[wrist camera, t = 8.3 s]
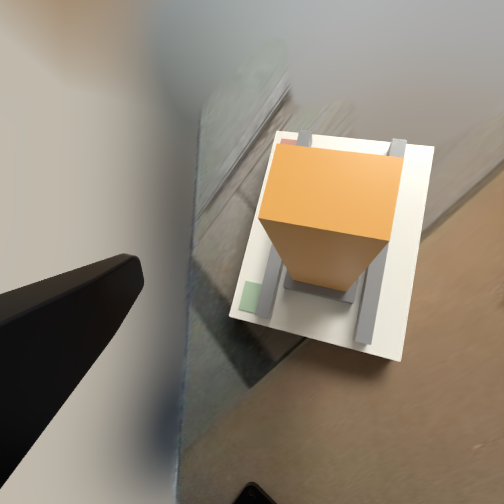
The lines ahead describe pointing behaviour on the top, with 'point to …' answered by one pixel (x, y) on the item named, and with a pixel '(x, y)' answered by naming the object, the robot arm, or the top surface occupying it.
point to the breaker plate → (370, 281)
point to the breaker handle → (329, 215)
